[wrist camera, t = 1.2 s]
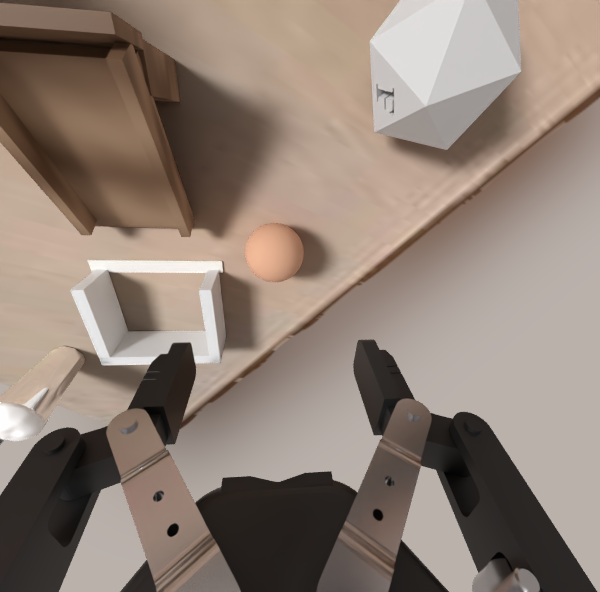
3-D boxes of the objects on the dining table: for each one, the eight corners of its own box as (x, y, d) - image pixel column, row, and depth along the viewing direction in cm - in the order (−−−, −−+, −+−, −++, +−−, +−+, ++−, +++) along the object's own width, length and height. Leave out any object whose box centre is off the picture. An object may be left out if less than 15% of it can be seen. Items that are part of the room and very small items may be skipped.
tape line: (88, 259, 26) (87, 260, 26) (222, 260, 27) (221, 261, 27) (92, 271, 27) (92, 272, 27) (223, 272, 28) (223, 272, 28)
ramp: (39, 45, 19) (-119, -8, 11) (173, 54, 19) (110, 12, 12) (97, 225, 25) (21, 270, 17) (197, 227, 25) (166, 270, 18)
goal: (96, 268, 27) (70, 289, 23) (218, 269, 28) (211, 289, 24) (121, 338, 31) (102, 365, 28) (226, 337, 32) (220, 362, 29)
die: (379, -29, 19) (338, 25, 14) (545, -78, 15) (562, -28, 11) (383, 108, 25) (355, 175, 20) (499, 95, 22) (498, 172, 17)
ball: (246, 215, 25) (240, 234, 21) (302, 216, 26) (308, 235, 21) (248, 266, 28) (244, 292, 24) (300, 267, 28) (304, 292, 24)
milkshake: (36, 364, 32) (-50, 452, 23) (54, 334, 30) (-33, 418, 22) (79, 381, 34) (13, 468, 25) (98, 354, 32) (34, 438, 23)
